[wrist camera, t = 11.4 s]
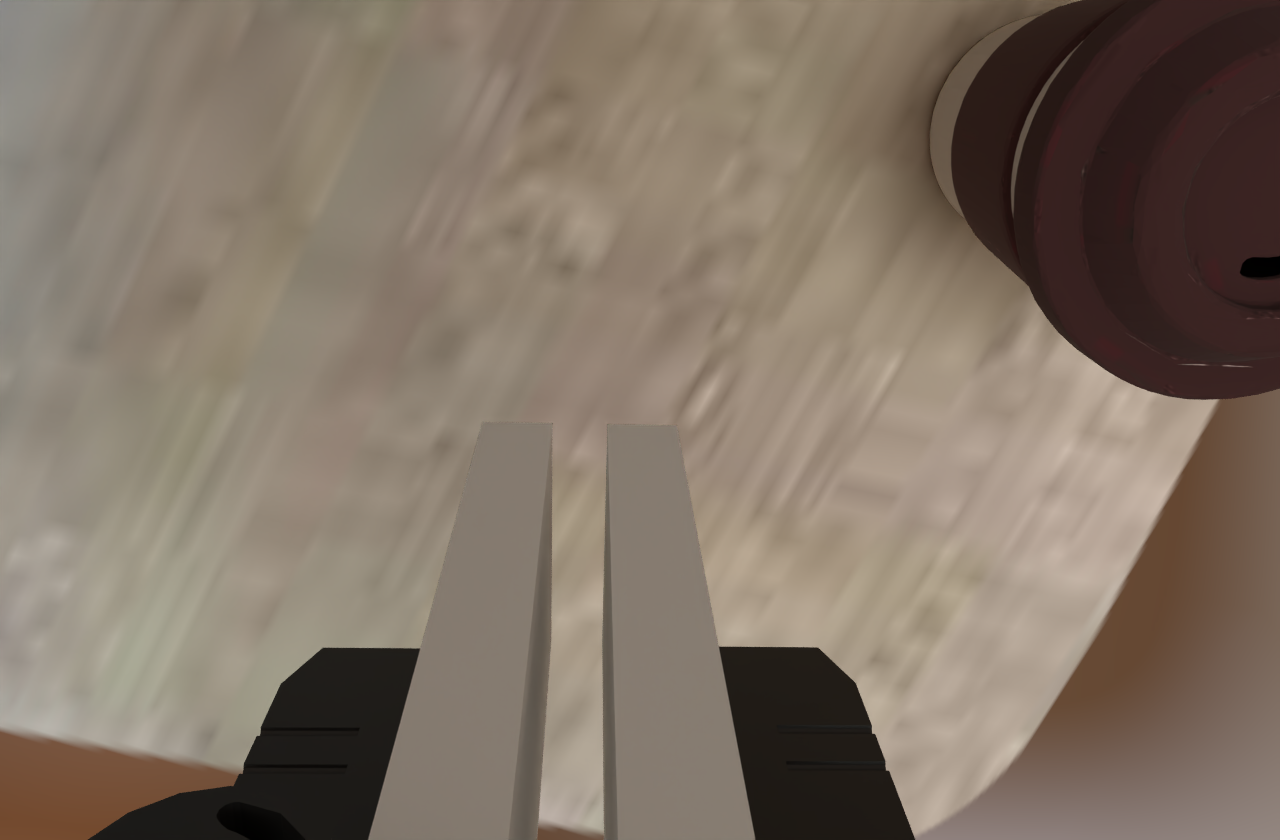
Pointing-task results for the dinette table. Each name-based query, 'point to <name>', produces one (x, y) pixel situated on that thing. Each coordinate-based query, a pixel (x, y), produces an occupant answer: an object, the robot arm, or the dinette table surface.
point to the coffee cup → (1131, 182)
